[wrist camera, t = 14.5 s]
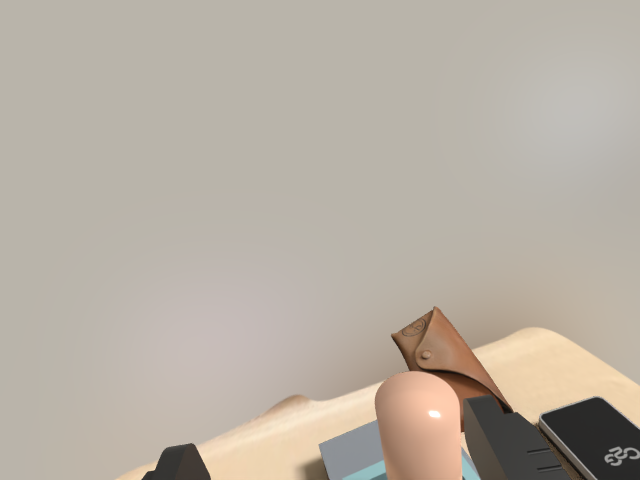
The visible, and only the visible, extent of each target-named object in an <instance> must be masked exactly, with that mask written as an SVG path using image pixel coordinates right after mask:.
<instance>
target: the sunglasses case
mask: <svg viewBox="0 0 640 480" xmlns="http://www.w3.org/2000/svg"><path fill="white" fill-rule="evenodd" d="M391 337H392V338H393V340H394V342H395V343H396V345H397V346H398V348H399V349H400V351H401V353H402V355H403V357H404V359H405V361H406V363H407V366H408V368H409V370H410V371H419V372H425V373H429V374H432V375H435V376H437V377H439V378H440V379H442V380H444V381H445V382H446V383H447V384H448V385H449V386H450V387H451V388H452V389H453V390H454V392H455V393H456V395H457V397H458V400H459V405H460V428H461V432H465V431H464V413H463V399H465V398H471V397H477V396H483V395H492V396H493V398H494V399H495V400H496V402H497V404H498V405H499V407H500V409H501V410H502V412H503V414H509V413H514V412H513V409H512V408H511V406H510V405H509V404H508V403H507V401H506V400H505V398H504V397H503V395H502V394H501V392H500V390H499V389H498V387H497V386H496V385H495V383H494V382H493V380H492V379H491V377H490V376H489V374H488V373H487V371H486V370H485V369H484V367H483V366H482V364H481V363H480V362H479V360H478V359H477V358H476V356H475V355H474V354H473V352H472V351H471V349H470V348H469V347H468V345H467V344H466V343H465V342H464V340H463V339H462V337H461V336H460V335H459V333H458V332H457V331H456V329H455V328H454V327H453V325H452V324H451V323H450V322H449V320H448V319H447V318H446V317H445V316H444V315H443V314H442V312H441V311H440V309H439V308H437V307H434V309H433V310H432V311H430V312H428V313H427V314H425V315H424V316H422V317H421V318H419V319H417V320H416V321H414V322H413V323H411V324H409V325H408V326H407V327H405V328H403V329H402V330H400V331H399V332H398V333H393V334H391Z"/></svg>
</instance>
